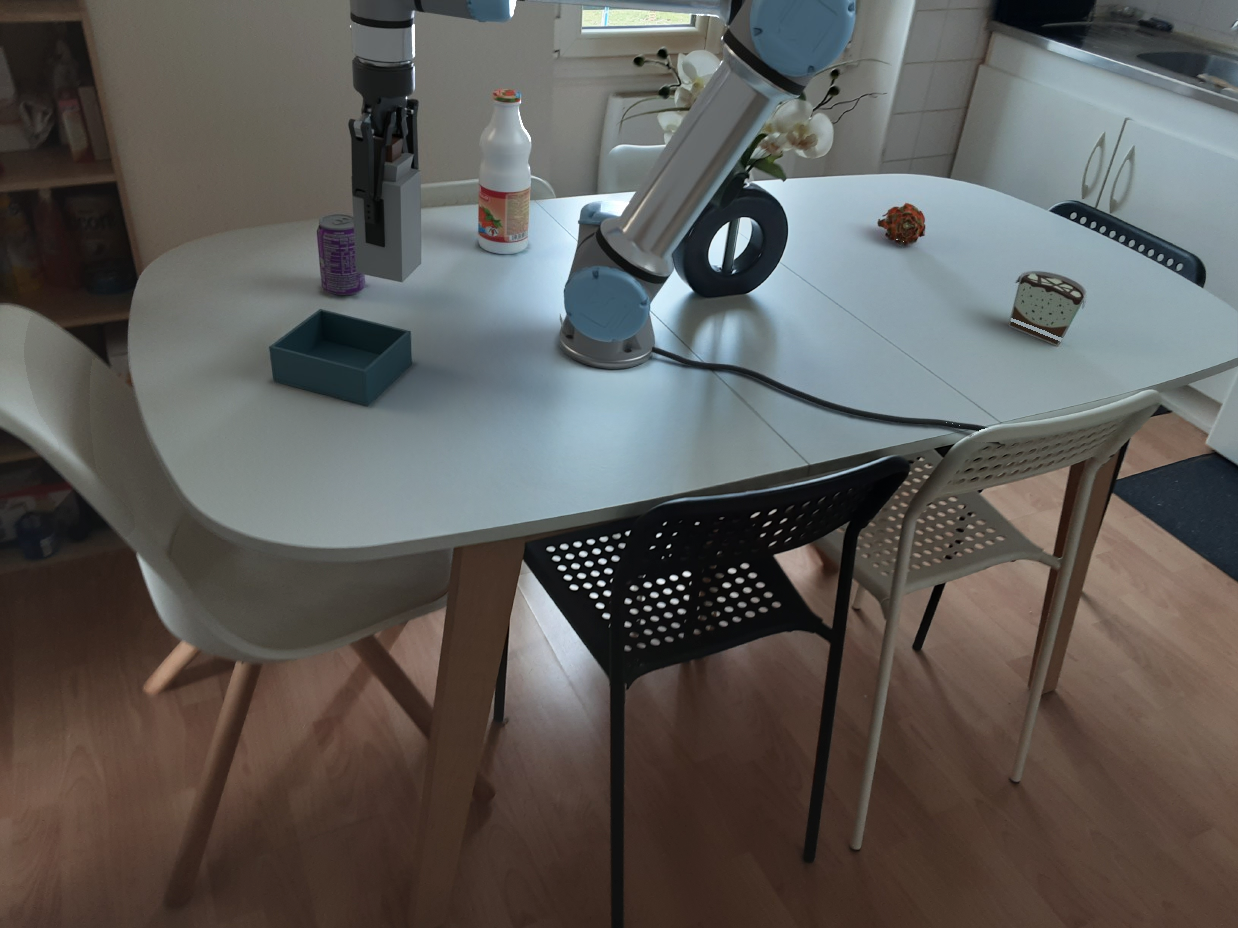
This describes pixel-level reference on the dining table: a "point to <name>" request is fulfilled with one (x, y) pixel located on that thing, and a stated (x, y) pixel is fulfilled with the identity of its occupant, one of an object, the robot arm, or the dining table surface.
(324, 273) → the beverage can
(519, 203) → the fruit juice
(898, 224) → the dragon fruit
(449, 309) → the dining table surface
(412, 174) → the perfume bottle
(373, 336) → the case
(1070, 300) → the food container
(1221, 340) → the dining table surface
